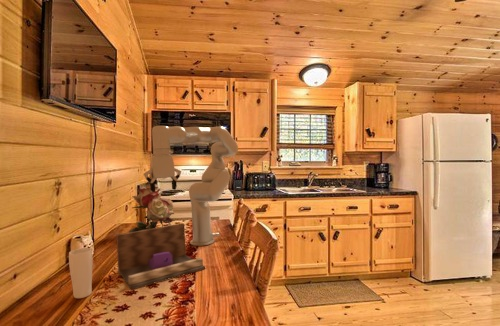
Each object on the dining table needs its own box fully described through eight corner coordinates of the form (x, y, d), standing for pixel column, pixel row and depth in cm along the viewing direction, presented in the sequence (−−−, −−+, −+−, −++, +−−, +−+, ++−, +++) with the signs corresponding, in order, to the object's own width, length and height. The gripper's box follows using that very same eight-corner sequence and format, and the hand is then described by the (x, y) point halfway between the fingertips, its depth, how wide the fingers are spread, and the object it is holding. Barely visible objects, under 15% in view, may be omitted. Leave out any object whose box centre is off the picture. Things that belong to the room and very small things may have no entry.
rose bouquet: (155, 240, 163) (152, 186, 162) (122, 235, 178) (119, 185, 178) (187, 229, 185) (185, 182, 184) (155, 225, 200) (153, 181, 199)
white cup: (77, 291, 101) (75, 248, 101) (97, 290, 102) (95, 247, 102) (66, 301, 95) (64, 254, 94) (88, 299, 95) (86, 253, 95)
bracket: (172, 269, 115) (172, 252, 115) (155, 273, 112) (154, 255, 112) (165, 261, 126) (164, 245, 126) (148, 264, 122) (147, 248, 122)
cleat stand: (184, 255, 134) (182, 223, 134) (205, 268, 117) (203, 231, 117) (118, 271, 118) (116, 234, 118) (131, 289, 101) (129, 246, 101)
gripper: (176, 152, 143) (178, 188, 143) (140, 154, 132) (142, 191, 133) (183, 152, 136) (184, 189, 137) (145, 153, 126) (147, 193, 127)
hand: (163, 190), depth 135 cm, fingers open, 9 cm apart
